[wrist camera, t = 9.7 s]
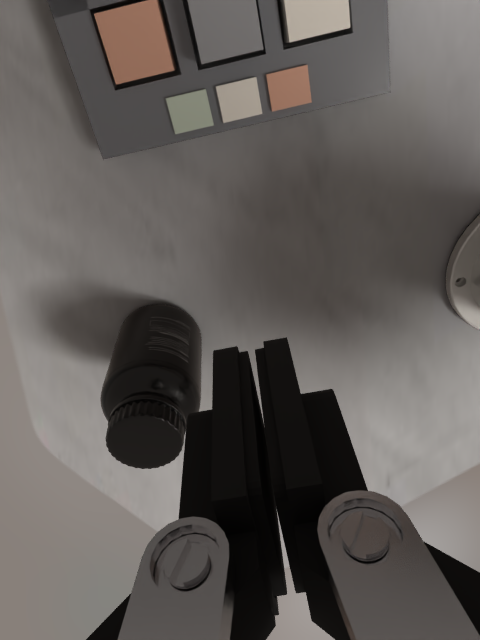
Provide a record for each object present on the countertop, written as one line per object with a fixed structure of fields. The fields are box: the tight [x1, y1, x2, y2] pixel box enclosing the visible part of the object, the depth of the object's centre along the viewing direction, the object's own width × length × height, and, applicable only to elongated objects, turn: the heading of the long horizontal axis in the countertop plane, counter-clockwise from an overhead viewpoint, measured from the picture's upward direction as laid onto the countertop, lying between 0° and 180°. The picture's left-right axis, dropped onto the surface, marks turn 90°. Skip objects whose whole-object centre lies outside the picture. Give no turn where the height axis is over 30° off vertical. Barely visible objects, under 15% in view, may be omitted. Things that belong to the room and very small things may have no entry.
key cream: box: [278, 0, 350, 43], centre depth 25 cm, size 3×3×2 cm
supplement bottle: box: [101, 304, 202, 469], centre depth 33 cm, size 7×7×12 cm
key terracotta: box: [94, 0, 177, 84], centre depth 26 cm, size 3×3×2 cm
